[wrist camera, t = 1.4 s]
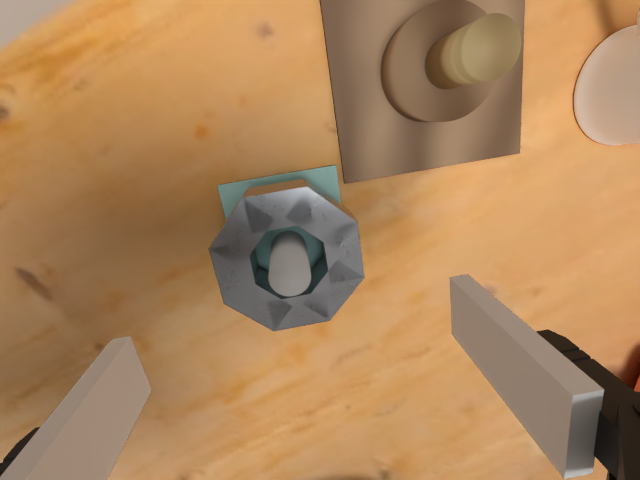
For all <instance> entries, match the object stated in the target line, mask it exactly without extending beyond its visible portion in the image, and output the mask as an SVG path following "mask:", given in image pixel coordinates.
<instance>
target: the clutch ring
mask: <svg viewBox="0 0 640 480" xmlns="http://www.w3.org/2000/svg"><path fill="white" fill-rule="evenodd" d="M293 226H300V227H301V228H303V229H304V230H306V231H307V232H309V233H310V234H312V235H313V236H315V237H316V238H318V239H319V240H321V243H322V249H323V255H322V256H321V258H320V259H319V260H318V262H317V263H316V264H315V266H314V267H313V268H312V269H311V282H310V284H309V286H308V288H307V289H306V290H305V291H304V292H302V293H301V294H299V295H296V296H283V295H280V294H278V293H277V292H275V291H274V290H273V289H272V287H271V286H270V283H269V279H268V275H269V271H267V270H265V269H264V268H262V267H260V266H259V264H258V260H257V256H256V251H255V247H256V245H257V244H258V242H259V241H260V240H261V238H262V237H263V235H264V234H265V233H266V231H270V230H276V229H282V228H287V227H293ZM209 252H210V256H211V259H212V263H213V266H214V270H215V273H216V277H217V281H218V284H219V288H220V291H221V295H222V299H223V302H224V304H225V305H227V306H229V307H231V308H233V309H234V310H236V311H238V312H240V313H242V314H243V315H245V316H247V317H249V318H251V319H252V320H254V321H256V322H258V323H260V324H262V325H263V326H265V327H267V328H269V329H271V330H272V331H278V330H284V329H289V328H294V327H299V326H305V325H310V324H315V323H320V322H326V321H330V320H331V319H332V317H333V316H334V315H335V314H336V312H337V311H338V310H339V309H340V307H341V306H342V305H343V304H344V302H345V301H346V300H347V299H348V297H349V296H350V295H351V294H352V292H353V291H354V290H355V289H356V287H357V286H358V285H359V284H360V282H361V281H362V280H363V279H364V270H363V262H362V254H361V246H360V238H359V230H358V222H357V221H356V219H355V218H354V217H353V215H352V214H351V213H350V211H349V210H348V209H346V208H345V207H344V206H342V205H341V204H339V203H338V202H337V201H335V200H334V199H332V198H331V197H330V196H328V195H327V194H325V193H324V192H322V191H321V190H320V189H318V188H317V187H315V186H314V185H313V184H311V183H310V182H308V181H307V180H306V179H299V180H293V181H287V182H281V183H276V184H270V185H264V186H258V187H252V188H248V189H247V190H246V192H245V193H244V195H243V196H242V198H241V199H240V201H239V202H238V204H237V205H236V207H235V208H234V210H233V211H232V213H231V214H230V216H229V217H228V219H227V220H226V222H225V223H224V225H223V226H222V228H221V229H220V231H219V232H218V234H217V235H216V237H215V239H214V240H213V242H212V244H211V245H210V247H209Z"/></svg>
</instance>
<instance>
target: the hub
mask: <svg viewBox="0 0 640 480" xmlns="http://www.w3.org/2000/svg"><path fill="white" fill-rule="evenodd" d="M320 5H321V12H322V20H323V27H324V35H325V42H326V50H327V57H328V65H329V72H330V80H331V87H332V95H333V102H334V110H335V117H336V125H337V132H338V140H339V147H340V155H341V162H342V170H343V177H344V183H345V184H346V183H352V182H358V181H364V180H369V179H375V178H381V177H386V176H392V175H398V174H404V173H409V172H415V171H421V170H427V169H432V168H438V167H444V166H450V165H455V164H461V163H467V162H473V161H478V160H484V159H490V158H495V157H501V156H507V155H513V154H518V153H520V135H521V104H522V73H523V42H524V11H525V0H320Z"/></svg>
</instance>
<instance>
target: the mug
mask: <svg viewBox="0 0 640 480" xmlns="http://www.w3.org/2000/svg"><path fill="white" fill-rule="evenodd" d="M574 111H575V116H576V119H577V122H578V124H579V126H580V128H581V129H582V131H583V132H584V133H585V134H586V135H587V136H588V137H589V138H590V139H592V140H594V141H595V142H598V143H600V144H604V145H624V144H640V7H639V11H638V17H637V25H633V26H629V27H626V28H623V29H621V30H619V31H617V32H615V33H614V34H612V35H610V36H609V37H608V38H606V39H605V40H604V41H603V42H602V43H600V44H599V45H598V46H597V47H596V49H595V50H594V51H593V52H592V53H591V55H590V56H589V57H588V59H587V60H586V62H585V64H584V66H583V67H582V69H581V72H580V74H579V77H578V79H577V83H576V87H575V92H574Z"/></svg>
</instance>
